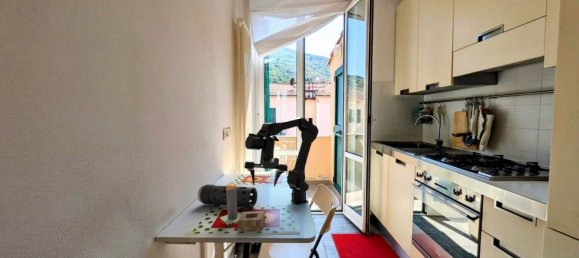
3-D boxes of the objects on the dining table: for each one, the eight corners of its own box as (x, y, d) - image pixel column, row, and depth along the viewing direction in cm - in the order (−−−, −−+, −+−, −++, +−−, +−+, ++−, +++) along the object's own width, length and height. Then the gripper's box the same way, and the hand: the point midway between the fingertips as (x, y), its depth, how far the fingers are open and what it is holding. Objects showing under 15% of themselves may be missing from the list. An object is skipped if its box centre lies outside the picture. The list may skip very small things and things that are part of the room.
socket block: (264, 220, 107) (264, 211, 106) (262, 230, 98) (261, 219, 97) (243, 221, 107) (242, 211, 107) (238, 231, 98) (237, 220, 98)
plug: (237, 215, 112) (235, 183, 111) (237, 219, 108) (235, 185, 107) (228, 216, 111) (226, 184, 110) (227, 220, 107) (225, 186, 106)
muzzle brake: (249, 212, 117) (248, 189, 117) (197, 208, 126) (195, 187, 125) (258, 205, 126) (257, 184, 126) (209, 201, 135) (207, 182, 135)
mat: (239, 213, 116) (239, 212, 116) (248, 219, 109) (248, 218, 109) (219, 218, 111) (219, 217, 111) (227, 225, 104) (227, 223, 104)
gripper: (247, 149, 107) (243, 188, 106) (292, 153, 111) (288, 190, 110) (246, 148, 117) (242, 183, 116) (286, 152, 121) (283, 186, 120)
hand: (264, 186), depth 115 cm, fingers open, 9 cm apart
